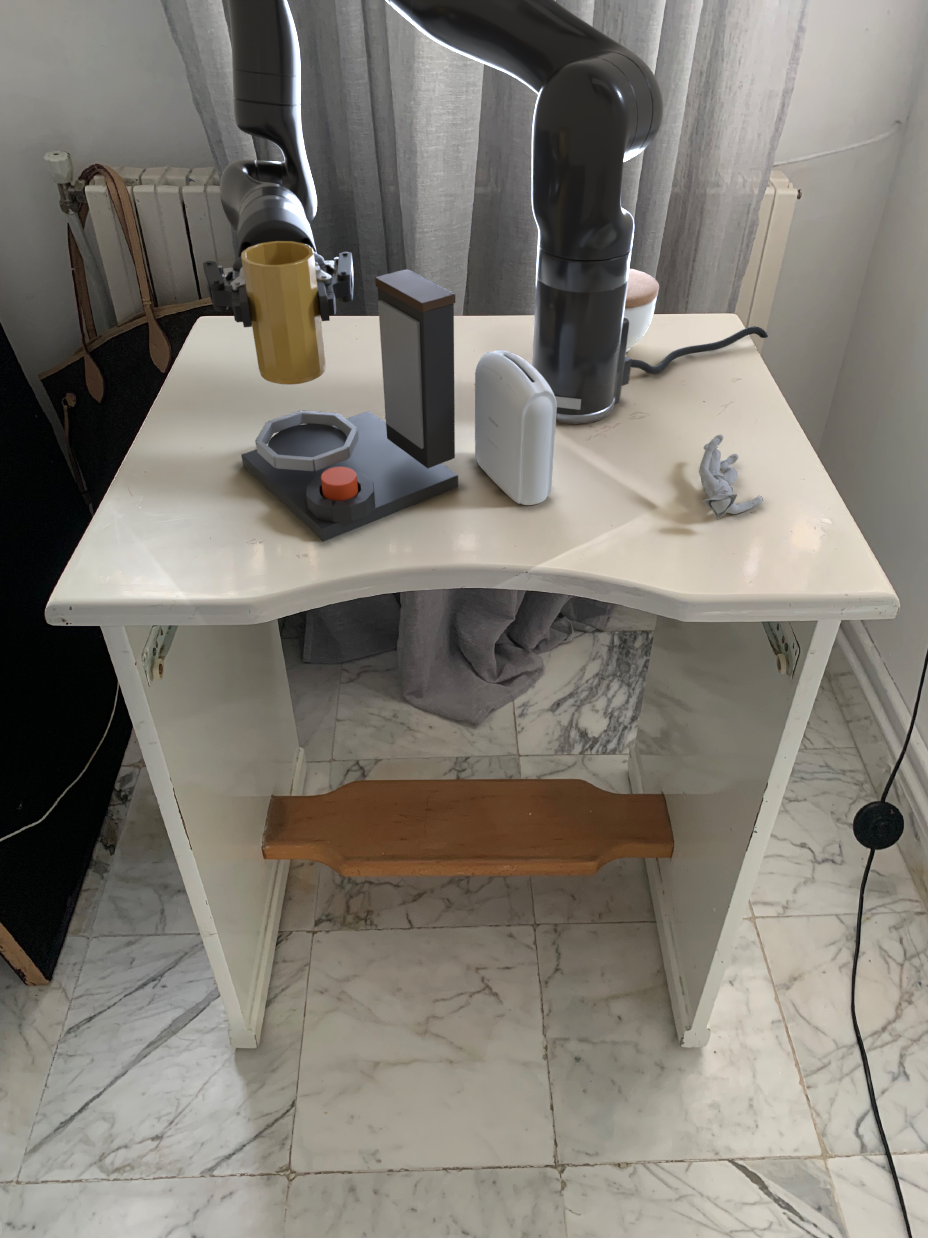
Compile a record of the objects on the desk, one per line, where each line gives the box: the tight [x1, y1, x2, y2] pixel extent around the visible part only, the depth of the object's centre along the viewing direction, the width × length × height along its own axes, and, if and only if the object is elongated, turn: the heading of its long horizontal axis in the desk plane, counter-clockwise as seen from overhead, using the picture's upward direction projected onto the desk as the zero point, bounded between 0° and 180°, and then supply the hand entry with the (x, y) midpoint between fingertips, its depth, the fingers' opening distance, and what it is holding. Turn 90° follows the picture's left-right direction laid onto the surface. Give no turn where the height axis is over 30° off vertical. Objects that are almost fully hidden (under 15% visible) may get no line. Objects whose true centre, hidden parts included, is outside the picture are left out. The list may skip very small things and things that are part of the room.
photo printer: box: [474, 349, 557, 506], centre depth 84 cm, size 10×4×12 cm, turn 26°
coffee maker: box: [254, 268, 456, 471], centre depth 82 cm, size 15×15×16 cm
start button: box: [321, 467, 358, 501], centre depth 81 cm, size 3×3×2 cm
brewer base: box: [240, 410, 459, 542], centre depth 88 cm, size 15×16×3 cm
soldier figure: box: [698, 434, 764, 521], centre depth 85 cm, size 8×5×12 cm
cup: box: [241, 241, 327, 385], centre depth 79 cm, size 6×6×10 cm
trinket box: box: [624, 268, 660, 353], centre depth 109 cm, size 11×11×9 cm
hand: (285, 313), depth 77 cm, fingers closed on cup, 6 cm apart
